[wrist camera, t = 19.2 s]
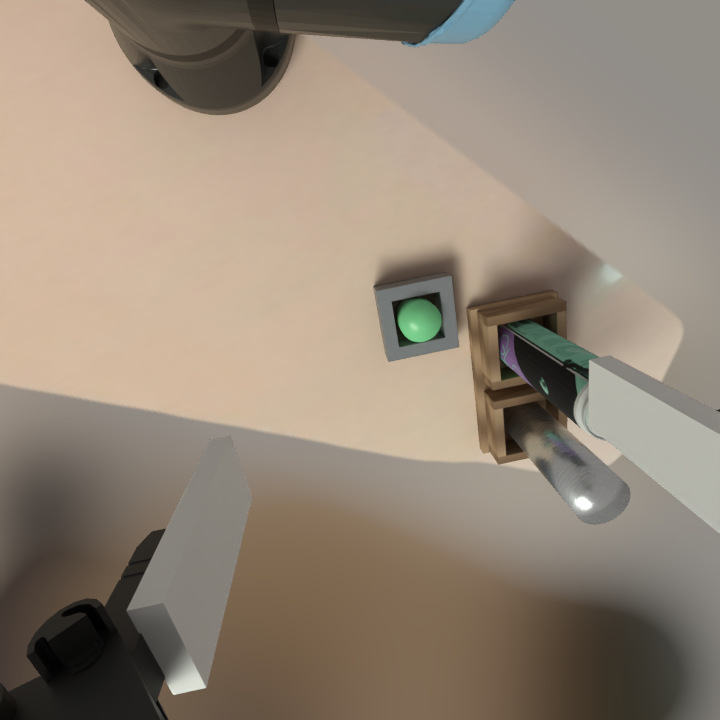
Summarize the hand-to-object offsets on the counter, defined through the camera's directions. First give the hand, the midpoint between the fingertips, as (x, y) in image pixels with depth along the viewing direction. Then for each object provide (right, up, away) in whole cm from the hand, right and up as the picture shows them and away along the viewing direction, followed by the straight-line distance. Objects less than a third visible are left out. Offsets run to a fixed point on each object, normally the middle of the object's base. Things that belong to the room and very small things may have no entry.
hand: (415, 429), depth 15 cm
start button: (+4, +8, +31) cm, 32 cm away
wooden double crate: (+17, +1, +35) cm, 39 cm away
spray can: (+16, +5, +33) cm, 36 cm away
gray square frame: (+4, +8, +32) cm, 33 cm away
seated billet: (+18, -4, +36) cm, 40 cm away
